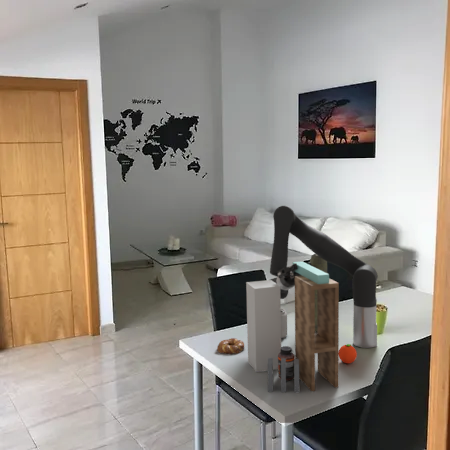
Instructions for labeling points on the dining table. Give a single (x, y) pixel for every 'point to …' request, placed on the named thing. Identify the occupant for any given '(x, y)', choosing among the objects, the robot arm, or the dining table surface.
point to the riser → (263, 323)
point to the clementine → (347, 353)
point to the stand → (326, 330)
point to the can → (283, 323)
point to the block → (312, 273)
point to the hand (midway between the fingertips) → (303, 265)
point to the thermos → (322, 266)
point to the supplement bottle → (286, 353)
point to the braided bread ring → (230, 346)
